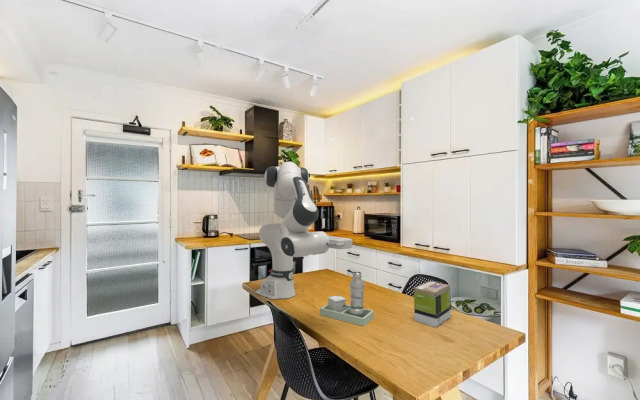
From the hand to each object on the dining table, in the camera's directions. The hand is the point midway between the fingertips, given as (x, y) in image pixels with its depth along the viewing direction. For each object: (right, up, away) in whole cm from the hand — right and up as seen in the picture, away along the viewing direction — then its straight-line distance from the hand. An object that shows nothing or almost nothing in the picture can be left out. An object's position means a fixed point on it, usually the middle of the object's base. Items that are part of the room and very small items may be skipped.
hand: (342, 239), depth 127 cm
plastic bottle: (+6, -35, +3) cm, 36 cm away
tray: (+2, -35, +6) cm, 36 cm away
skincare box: (-2, -35, +9) cm, 36 cm away
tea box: (+40, -36, +3) cm, 53 cm away
